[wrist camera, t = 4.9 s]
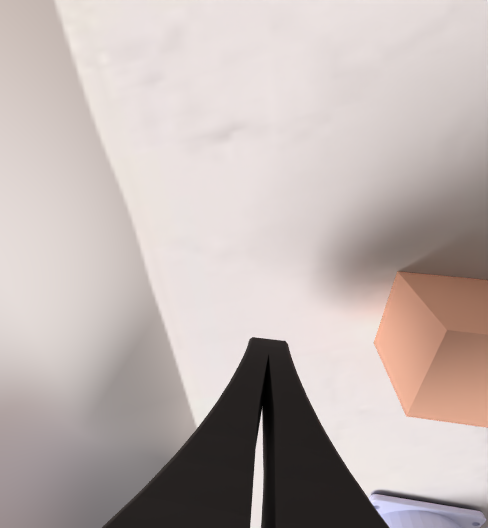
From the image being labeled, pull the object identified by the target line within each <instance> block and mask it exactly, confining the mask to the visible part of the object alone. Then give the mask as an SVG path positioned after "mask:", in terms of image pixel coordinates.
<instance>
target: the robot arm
mask: <svg viewBox="0 0 488 528" xmlns="http://www.w3.org/2000/svg"><path fill="white" fill-rule="evenodd" d="M261 411H262V415H263V467H264V481H263V505H262V523H261V528H480V527H481V526H482V525H483V524H484V523H485V522H486V518H485V516H484V514H483V513H482V512H480V511H476V510H470V509H464V508H458V507H452V506H446V505H440V504H434V503H428V502H422V501H415V500H409V499H403V498H397V497H391V496H385V495H379V494H373V495H371V496H370V498H369V499H368V497H367V496H366V494H365V493H364V491H363V490H362V489H361V487H360V486H359V484H358V483H357V481H356V480H355V478H354V477H353V476H352V474H351V473H350V471H349V470H348V468H347V467H346V465H345V463H344V462H343V460H342V459H341V457H340V455H339V454H338V452H337V451H336V449H335V447H334V446H333V444H332V442H331V441H330V439H329V437H328V435H327V434H326V432H325V430H324V428H323V427H322V425H321V423H320V421H319V419H318V417H317V415H316V413H315V411H314V409H313V407H312V405H311V403H310V401H309V399H308V397H307V395H306V393H305V390H304V388H303V386H302V384H301V381H300V379H299V377H298V374H297V372H296V369H295V366H294V364H293V361H292V358H291V354H290V351H289V347H288V344H287V343H286V341H280V340H271V339H263V338H255V337H252V338H251V339H250V340H249V343H248V346H247V349H246V352H245V354H244V356H243V358H242V360H241V362H240V364H239V366H238V368H237V370H236V372H235V373H234V375H233V377H232V379H231V381H230V382H229V384H228V386H227V387H226V389H225V390H224V392H223V393H222V395H221V396H220V398H219V400H218V401H217V403H216V404H215V405H214V407H213V408H212V410H211V411H210V412H209V414H208V415H207V416H206V418H205V419H204V420H203V422H202V423H201V424H200V426H199V427H198V428H197V429H196V431H195V432H194V433H193V434H192V436H191V437H190V438H189V439H188V441H187V442H186V443H185V444H184V445H183V446H182V448H181V449H180V450H179V451H178V452H177V453H176V454H175V456H174V457H173V458H172V459H171V460H170V461H169V462H168V463H167V464H166V465H165V466H164V467H163V468H162V469H161V471H160V472H159V473H158V474H157V475H156V476H155V477H154V478H153V479H152V480H151V481H150V482H149V483H148V484H147V485H146V486H145V487H144V488H143V489H142V490H141V491H140V492H139V493H138V494H137V495H136V496H135V497H134V498H133V499H132V500H131V501H130V502H129V503H128V504H127V505H126V506H125V507H123V508H122V509H121V510H120V511H119V512H118V513H117V514H116V515H115V516H114V517H113V518H112V519H111V520H110V521H108V522H107V524H105V525H104V526H103V527H102V528H250V520H251V506H252V491H253V476H254V462H255V448H256V442H257V436H258V430H259V423H260V417H261Z"/></svg>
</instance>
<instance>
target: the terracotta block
mask: <svg viewBox="0 0 488 528" xmlns="http://www.w3.org/2000/svg"><path fill="white" fill-rule="evenodd" d="M374 345H375V347H376V349H377V351H378V354H379V356H380V358H381V360H382V363H383V365H384V367H385V369H386V372H387V374H388V376H389V378H390V381H391V383H392V385H393V387H394V390H395V392H396V394H397V396H398V399H399V401H400V403H401V405H402V408H403V410H404V412H405V414H406V416H408V417H415V418H422V419H430V420H437V421H444V422H451V423H458V424H466V425H473V426H480V427H487V428H488V280H483V279H472V278H462V277H451V276H441V275H430V274H420V273H410V272H399V271H397V274H396V277H395V280H394V283H393V286H392V289H391V292H390V295H389V298H388V301H387V304H386V307H385V310H384V313H383V316H382V319H381V322H380V325H379V328H378V331H377V334H376V337H375V340H374Z"/></svg>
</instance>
